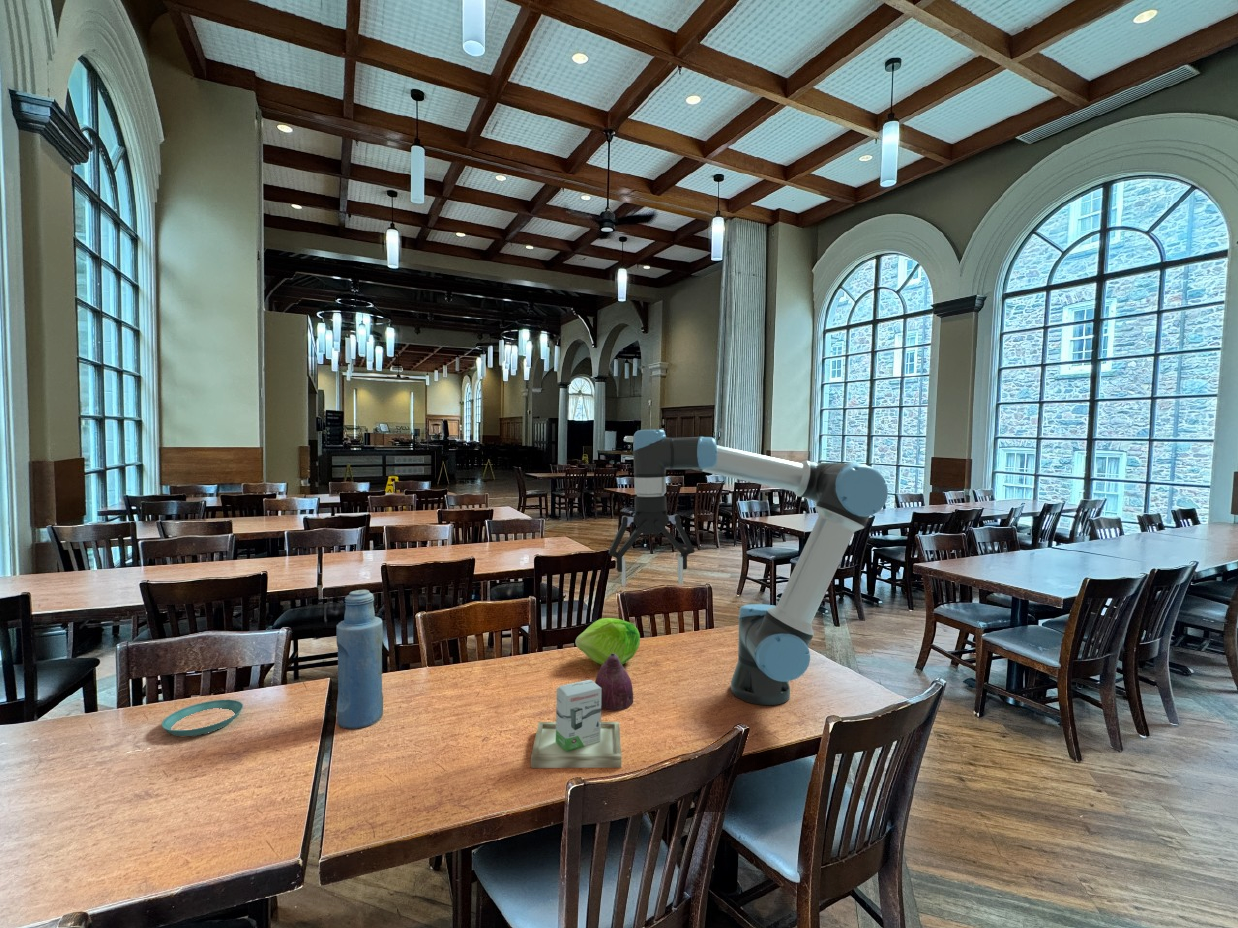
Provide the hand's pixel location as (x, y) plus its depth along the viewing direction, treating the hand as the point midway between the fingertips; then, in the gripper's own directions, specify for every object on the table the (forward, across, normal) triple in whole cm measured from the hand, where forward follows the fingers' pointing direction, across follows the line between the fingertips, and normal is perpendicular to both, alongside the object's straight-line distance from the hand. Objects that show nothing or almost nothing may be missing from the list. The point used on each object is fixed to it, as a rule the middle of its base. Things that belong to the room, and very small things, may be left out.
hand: (652, 584), depth 131 cm
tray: (+31, +18, +14) cm, 39 cm away
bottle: (+29, +69, -2) cm, 75 cm away
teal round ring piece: (+28, +103, -1) cm, 107 cm away
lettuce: (+32, +10, -33) cm, 47 cm away
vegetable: (+32, +10, -8) cm, 34 cm away
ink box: (+30, +18, +14) cm, 37 cm away
